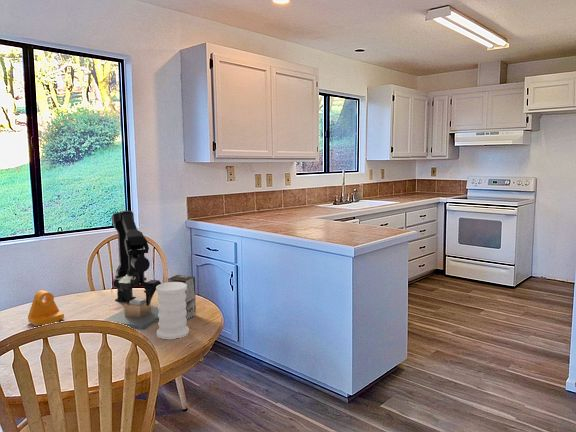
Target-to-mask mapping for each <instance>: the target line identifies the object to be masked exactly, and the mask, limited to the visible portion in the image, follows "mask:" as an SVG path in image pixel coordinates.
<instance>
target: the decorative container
mask: <svg viewBox="0 0 576 432" xmlns="http://www.w3.org/2000/svg"><path fill="white" fill-rule="evenodd" d="M186 290H187V284H185V283H182V282H168V281H167V282H163V283H161V284H159V285H157V286H156V291H155V292H156V293H157V301H158V304H157V307H158V309H159V313H158V317H159V320H158V323H157V325H158V327H159V328H158V329H157V330H156V337H157V336H158V337H159V338H158V337H157V338H158V339H160V338H162V339H161V340H163V339H175V338H180V337H183V336H185V335H187V334H188V333H189V334H190V328H189V326H187V323H188V320H187V319H186V314H187V312H186V305H187V304H186V302H185V299H186V293H185V291H186ZM189 334H188V335H189ZM188 335H187V336H188ZM185 337H186V336H185ZM183 338H184V337H183ZM180 339H181V338H180Z"/></svg>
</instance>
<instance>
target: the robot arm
mask: <svg viewBox="0 0 576 432" xmlns="http://www.w3.org/2000/svg"><path fill="white" fill-rule="evenodd" d="M134 217H135V215H134V212H133V211H132V210H120V211H119V212H114V213H113V214H112V215H111V224H113V228H114V229H115V231H116V232H117V242H118V261H119V262H118V263H119V265H118V267H117V269H116V270H115V275H114V279H113V282H112V286H113V287H114V288H115V289H117V291H116V292H117V293H116V295H117V298H115V300H114V302H115V301H116V302H123V303H128V302H130V301H131V300H133V299H135V298H137V297H136V296H134V295H133V294H134V293H133V288H134V287H144V290H143V292H144V294H145V299H146V305H147V306H148V305H149V304H150V301H151V302H152V299H153V297H154V294H155V293H156V292H157V291H156V286H157V285H159V284H162V283H161V281H160V280H159V279H158V280H157V279H150V280H147V277H145V272H146V271H148V270H149V268H150V267H151V266H150V265H151V264H150V260H149V259H148V258H147V257H146V256H145V254H149V250H150V247H149V243H148V240H147V238H146V237H145V235H144V234H143V232H142V231H140V230H138V228H137V225H136V223H135V218H134Z"/></svg>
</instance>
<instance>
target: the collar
mask: <svg viewBox="0 0 576 432" xmlns="http://www.w3.org/2000/svg"><path fill="white" fill-rule="evenodd" d="M151 306H152V300H151V301H150V304H149V305H148V306H147V305H146V302H145V303H144V304H142V305H140V306H138V305H130V302H128V303H127V302H125V303H124V309H125V317H132V318H139V319H141V318H142V317H144V316H146V315H148V314H149V313H151ZM124 309H123V310H124Z"/></svg>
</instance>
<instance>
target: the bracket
mask: <svg viewBox="0 0 576 432" xmlns="http://www.w3.org/2000/svg"><path fill="white" fill-rule="evenodd" d="M44 297H45V298H44ZM27 319H28V322H29V323H30V324H32V325H33V326H36V327H37V326H42V325H45V324H49V323H53V324H55V323H54V322H57V323H59V321H60V320H63V319H65V313H64V312H62V311H60V310H59V308H58V306H57V304H56V302H55V296H54V295H53V294H52V293H51V292H49V291H47V290H44V289H41V290H38V291H37V292H36V293H35V294H34V296H33V300H32V303H31V306H30V309H29V312H28V315H27ZM49 325H50V324H49ZM45 326H46V325H45Z"/></svg>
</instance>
